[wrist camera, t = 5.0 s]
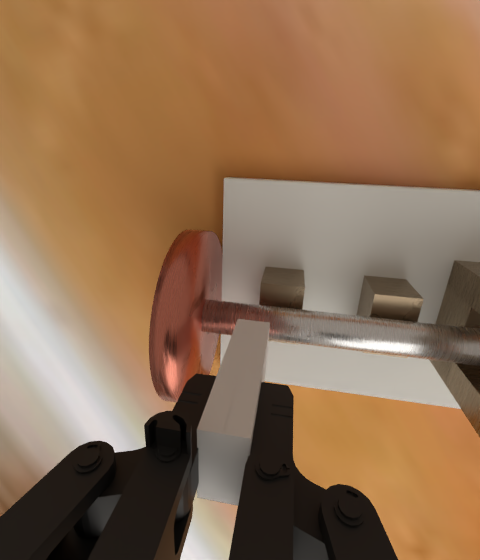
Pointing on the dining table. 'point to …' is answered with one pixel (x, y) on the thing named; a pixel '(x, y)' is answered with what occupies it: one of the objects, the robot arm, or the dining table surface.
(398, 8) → the dining table surface
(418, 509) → the dining table surface
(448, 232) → the base board
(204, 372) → the disc-ended rod
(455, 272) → the eye bracket
